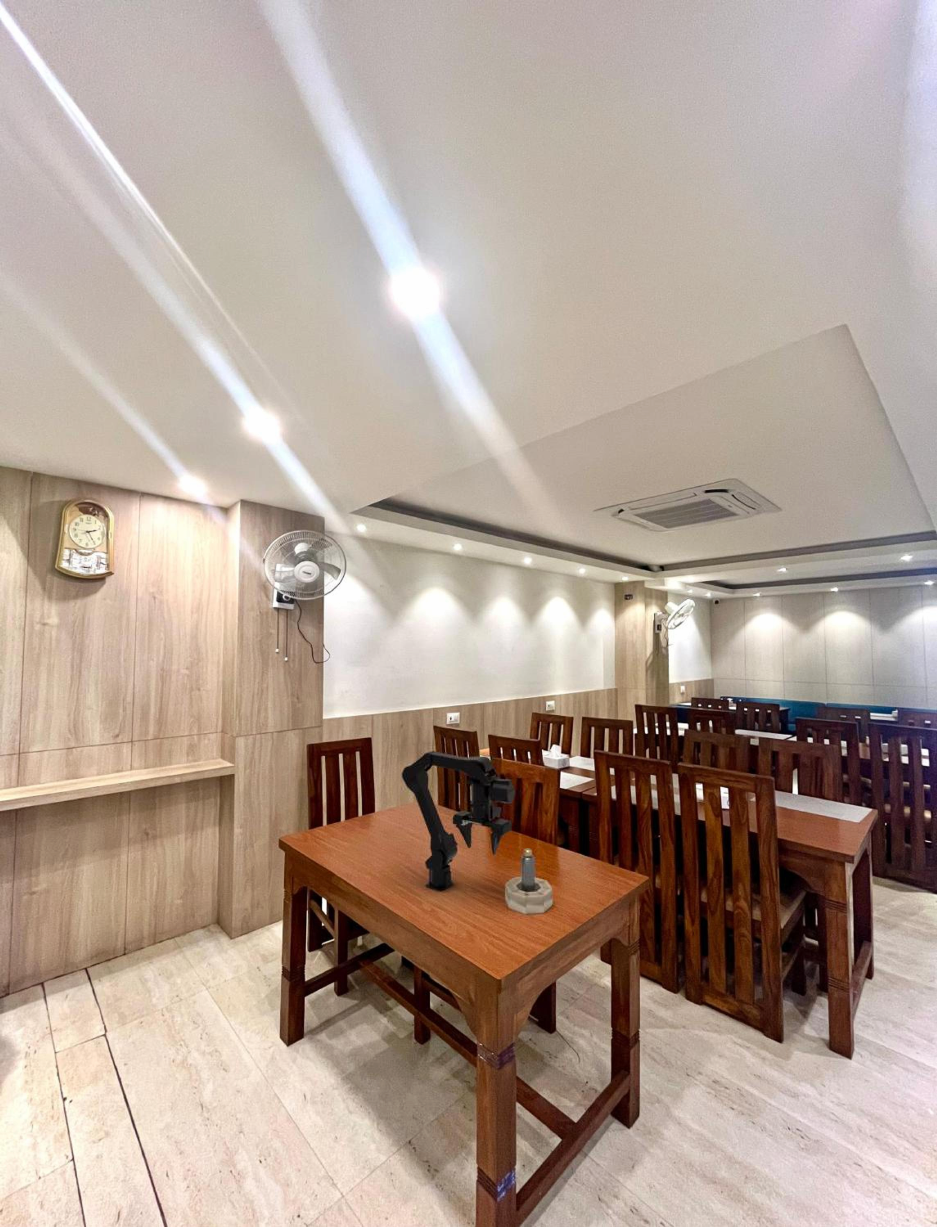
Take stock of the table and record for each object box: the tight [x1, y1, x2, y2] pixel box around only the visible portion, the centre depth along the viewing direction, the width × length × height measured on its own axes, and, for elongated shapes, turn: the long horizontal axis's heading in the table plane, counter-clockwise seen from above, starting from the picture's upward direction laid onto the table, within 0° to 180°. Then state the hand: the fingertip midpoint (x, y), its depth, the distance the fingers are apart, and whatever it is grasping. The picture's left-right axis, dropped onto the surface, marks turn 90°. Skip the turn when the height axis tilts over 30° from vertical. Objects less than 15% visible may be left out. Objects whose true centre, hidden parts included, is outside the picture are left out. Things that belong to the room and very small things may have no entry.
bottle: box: [520, 848, 536, 892], centre depth 149 cm, size 4×4×15 cm
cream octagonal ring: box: [504, 876, 553, 915], centre depth 149 cm, size 13×13×4 cm
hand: (481, 850), depth 155 cm, fingers open, 9 cm apart
